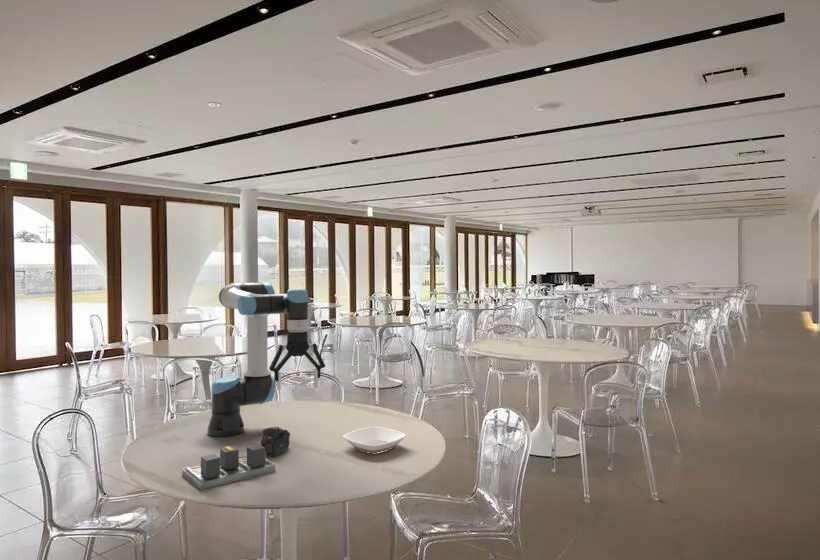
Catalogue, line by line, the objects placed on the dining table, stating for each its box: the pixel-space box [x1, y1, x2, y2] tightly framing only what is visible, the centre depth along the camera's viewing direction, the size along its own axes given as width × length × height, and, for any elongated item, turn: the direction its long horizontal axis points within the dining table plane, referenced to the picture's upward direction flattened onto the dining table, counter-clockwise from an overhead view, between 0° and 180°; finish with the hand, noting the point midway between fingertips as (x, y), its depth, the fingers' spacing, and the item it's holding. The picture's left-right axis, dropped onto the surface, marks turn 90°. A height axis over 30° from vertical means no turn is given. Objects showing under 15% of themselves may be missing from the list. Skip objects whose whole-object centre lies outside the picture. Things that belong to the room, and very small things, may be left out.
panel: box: [182, 454, 276, 491], centre depth 192 cm, size 17×26×3 cm, turn 130°
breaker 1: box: [200, 453, 220, 479], centre depth 183 cm, size 5×4×6 cm
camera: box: [260, 426, 291, 457], centre depth 214 cm, size 13×10×10 cm
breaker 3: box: [246, 443, 266, 468], centre depth 194 cm, size 5×4×6 cm
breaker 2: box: [219, 445, 240, 470], centre depth 191 cm, size 5×4×6 cm
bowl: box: [342, 426, 407, 453], centre depth 219 cm, size 22×22×5 cm
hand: (297, 388), depth 205 cm, fingers open, 13 cm apart
